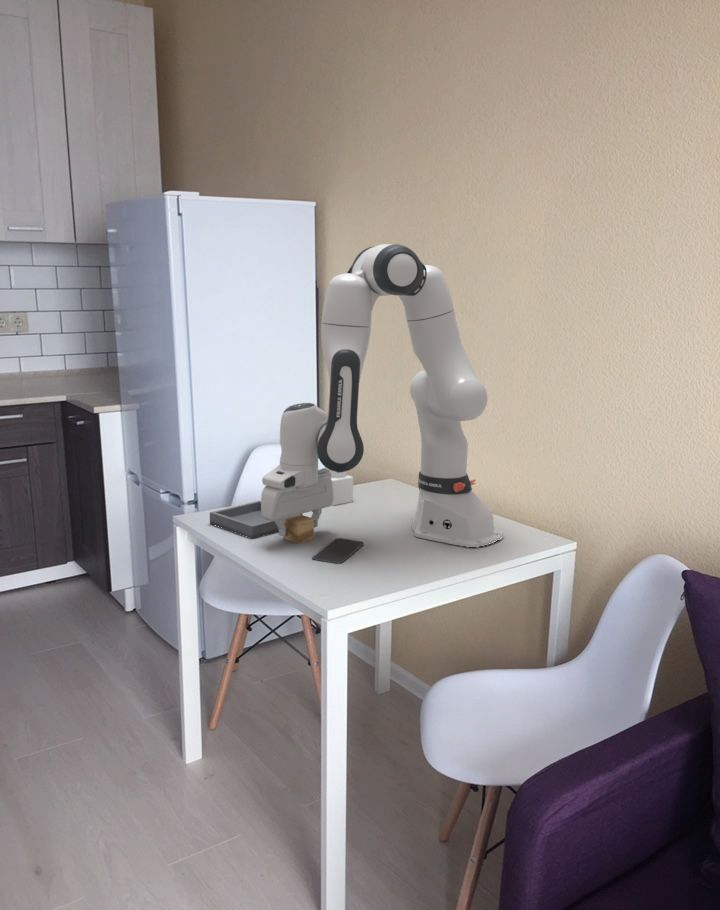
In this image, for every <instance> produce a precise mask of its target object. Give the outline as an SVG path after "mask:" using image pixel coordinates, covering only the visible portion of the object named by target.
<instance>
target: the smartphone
mask: <svg viewBox="0 0 720 910" xmlns="http://www.w3.org/2000/svg"><path fill="white" fill-rule="evenodd" d="M364 546H365V543H364V541H361V540H353V539H348V538H347V539H346V538H342V537H341V538H340V537H339V538H334V539H333V540H332V541H330V543H328V544H327V545H325V546H324V547H323V548H322V549H320V551H318V552H317V553H315V554H314V555H313V556H312V557H311V560H312V561H315V562H316V561H317V562H322V563H323V562H324V563H328V564H336V565H342V564H343V563H345V562H346V561H347V560H349V559H350V558H351V557H352V556H353V555H354V554H356V553H357V552H359V550H361V549H362V548H363V547H364Z"/></svg>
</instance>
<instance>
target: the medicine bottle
mask: <svg viewBox="0 0 720 910" xmlns="http://www.w3.org/2000/svg"><path fill="white" fill-rule="evenodd" d="M324 468H326V467H325V466H324ZM326 469H327V470H329V469H328V468H326ZM329 471H330V472H331V480H332V485H333V495H334V501H333V503H332V505H331V506H337V505H343V504H348V503H352V502H354V476H352V475H349V474H347V472H348V471H345V472H335V471H332V470H329Z"/></svg>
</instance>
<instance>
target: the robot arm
mask: <svg viewBox="0 0 720 910" xmlns="http://www.w3.org/2000/svg"><path fill="white" fill-rule="evenodd" d="M392 295H393V296H398V297H399V299H400V301H401V302H402V305H403V306H404V313H405V319H406V323H407V328H408V333H409V336H410V340H411V344H412V349H413V353H414V355H415V356H416V358H417V359H418V360H419V362H420V364H421V365H422V368H423V369H424V370H421V371H419V372H417V373H416V374H415V375H414V376H413V378H412V380H411V382H410V386H409V393H410V397H411V399H412V401H413V403H414V405H415V410H416V414H417V415H416V416H417V420H418V426H419V434H420V440H421V444H420V445H421V449H420V454H421V455H420V471H419V472H418V481H417V487H418V500H417V505H416V511H415V516H414V519H413V523H412V525H411V529H412V531H413V532H414V537H416V538H420V539H424V540H429V541H434V542H439V543H445V544H450V545H454V546H458V545H459V546H458V547H463V546H466V547H465V548H469V547H476V548H478V547H477V546H482V545H486V544H489V543H492V542H494V541H496V540H498V539H500V538H501V537H502V536H503V537H504V532H503V531H501V530H498V529H495V522H494V515H493V512H492V510H491V509H490V508H489V507H488V506H487V505H486V504H485V503H484V502H483V501H482V500H481V499H480V498H479V497H478V496H477V495H476V494H475V493H474V492H473V488H472V486H473V485H476V482H475V481H476V479H471V480H470V477H469V475H468V473H467V465H468V450H469V449H468V447H469V443H468V440H467V437H466V436H465V433H464V431H463V428H462V427H463V426H462V423H461V422H466V421H473V420H475V419H477V418H478V417H480V416H481V415H482V414H483V413H484V412H485V410H486V407H487V405H488V391H487V390H486V389H487V388H485V385H483V383H482V382H481V381H480V380H479V378H478V377H477V375H476V374H475V371H474V369H473V367H472V365H471V362H470V360H469V358H468V356H467V353H466V351H465V349H464V346H463V343H462V340H461V337H460V336H461V335H460V331H459V327H458V323H457V319H456V318H457V317H456V314H455V309H454V305H453V304H454V303H453V300H452V296H451V293H450V290H449V287H448V284H447V281H446V278H445V277H444V274H443V272H442V270H441V269H439V267H437V266H435V265H430V264H424V263H423V262H422V261H421V260H420V258H419V256H418V255H417V254H416V253H415V252H414V251H413V250H412V249H411V248H410V247H407V246H405V245H403V244H397V243H394V244H393V243H392V244H391V243H382V244H378V245H376V246H375V245H374V246H369V247H366V248H364V249H363V250H361V251H360V252H359V253H358V255H356V256H355V259H354V261H353V262H352V264H351V266H350V268H349V269H348V271H347V273H341V274H337V275H336V276H334V277H332V278H331V279H330V280H329V281H328V284H327V289H326V292H325V296H324V301H323V307H322V315H321V325H320V326H321V327H320V336H321V339H320V340H321V349H322V355H323V359H324V363H325V365H326V368H327V373H328V378H329V394H328V395H329V398H328V411H327V412H326V411H325V410H323V409H322V408H320V407H319V406H317V405H316V404H315V403H311V402H302V403H295V404H292V405H290V406H288V407H287V408H285V409H284V411H283V412H282V415H281V418H280V425H279V426H280V429H279V444H280V445H279V446H280V450H281V451H280V452H281V454H280V457H279V465H277V466H276V467H275V468H273V469H272V470H271V471H269V472H267V473H266V474H264V475H263V476H262V479H261V480H262V485H264V487H263V489H262V491H261V497H260V501H261V514H262V516H263V518H264V519H267V520H270V521H275V523H276V525H277V527H278V528H279V532H278V536H279V537H282V538H283V537H284V536H287V535H288V534H289V533H288V531H289V528H285V526H284V523H285V518H288V517H292V516H295V515H299V514H302V515H303V514H307V513H309V512H312V514H311V517H310V518H314V529H315V528H317V527H318V526H319V520H320V517H321V515H322V511H323V510H322V509H326V508H329V507H331V506H333V505H332V503H333V501H334V495H333V485H332V480H331V472H330V471H329V470H332V471H335V472H345V471H347V472H349V471H350V470H353V469H354V468H355V467H357V466H358V465H359V464H360V462H361V460H362V459H363V456H364V451H365V448H364V443H363V439H362V436H361V435H360V431H359V429H358V427H359V426H358V409H359V407H358V406H359V389H360V381H361V377H362V372H363V368H364V363H365V360H366V357H367V353H368V349H369V344H370V343H369V342H370V340H371V339H370V338H371V330H372V312H373V308H374V306H375V304H376V301H377V300H378V298H380V297H381V296H382V297H385V296H392ZM319 462H320V463H321V464H322V465H323V466H324V467H323V468H321V469H319ZM325 467H326V468H328V469H329V470H327V469H326V468H325ZM498 535H499V536H498Z"/></svg>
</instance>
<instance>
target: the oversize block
mask: <svg viewBox="0 0 720 910" xmlns="http://www.w3.org/2000/svg"><path fill="white" fill-rule="evenodd" d="M284 526H285V528H289V531H288V533H289V534H288V535H287V536H284V537H282V539H283V540H287V541H289V542H293V543H295V544H300V543H303V542H308V541H310V540H314V538H315V537H314V536H315V535H314V532H315V528H314V518H311V517H310V516H307V515H303V514H302V515H300V514H299V515H295V516H292V517H288V518H285V523H284Z"/></svg>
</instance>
